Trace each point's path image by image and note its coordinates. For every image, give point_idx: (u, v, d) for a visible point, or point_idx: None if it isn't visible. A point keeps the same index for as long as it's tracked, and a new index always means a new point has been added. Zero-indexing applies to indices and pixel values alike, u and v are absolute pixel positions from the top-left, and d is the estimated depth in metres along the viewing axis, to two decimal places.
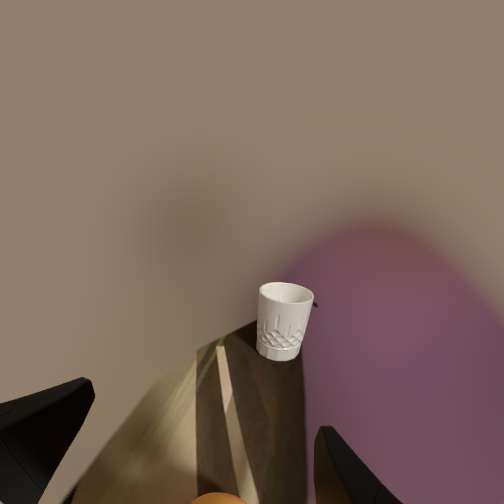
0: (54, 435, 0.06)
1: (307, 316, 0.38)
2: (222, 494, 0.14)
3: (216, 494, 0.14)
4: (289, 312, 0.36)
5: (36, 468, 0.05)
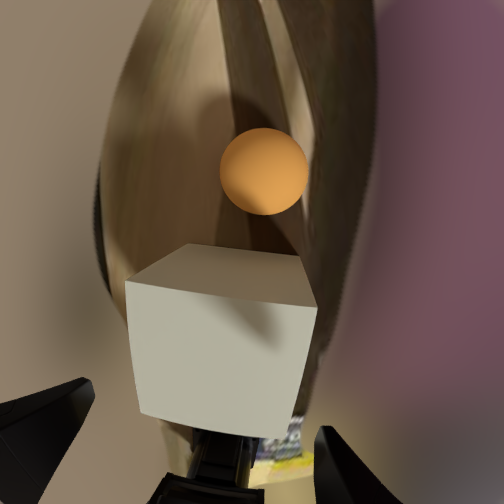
0: (54, 435, 0.06)
1: None
2: (263, 135, 0.13)
3: (255, 135, 0.13)
4: None
5: (36, 468, 0.05)
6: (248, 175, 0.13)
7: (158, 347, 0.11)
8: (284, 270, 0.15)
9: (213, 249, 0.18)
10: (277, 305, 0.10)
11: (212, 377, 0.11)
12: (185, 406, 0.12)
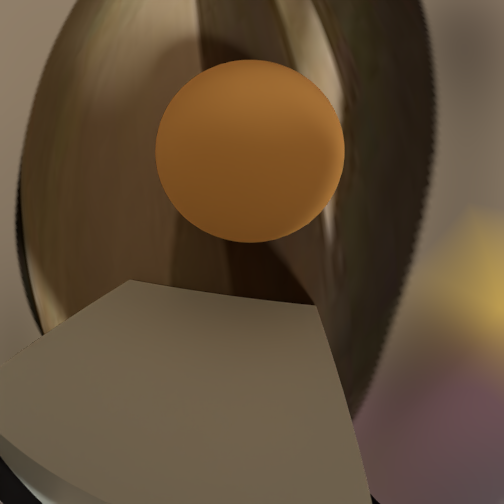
0: None
1: None
2: (245, 64, 0.05)
3: (227, 66, 0.05)
4: None
5: None
6: (202, 152, 0.05)
7: (51, 500, 0.03)
8: (291, 362, 0.06)
9: (164, 296, 0.10)
10: None
11: None
12: None
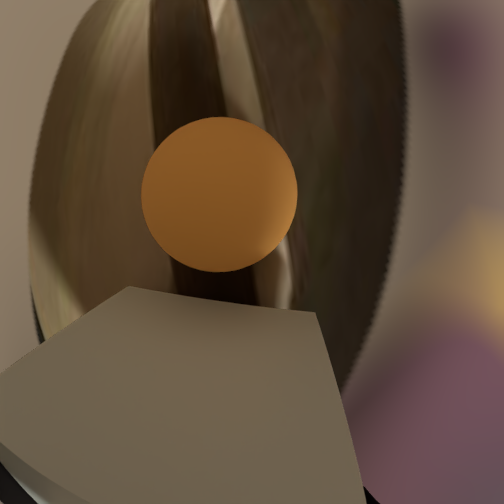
0: None
1: None
2: None
3: None
4: None
5: None
6: None
7: None
8: (290, 371, 0.06)
9: (163, 303, 0.10)
10: None
11: None
12: None
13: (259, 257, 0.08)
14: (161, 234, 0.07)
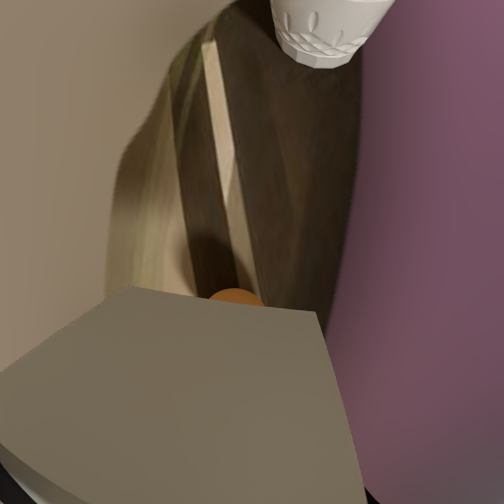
0: None
1: (383, 15, 0.10)
2: None
3: None
4: (342, 12, 0.09)
5: None
6: None
7: None
8: (290, 371, 0.06)
9: (162, 302, 0.10)
10: None
11: None
12: None
13: None
14: None
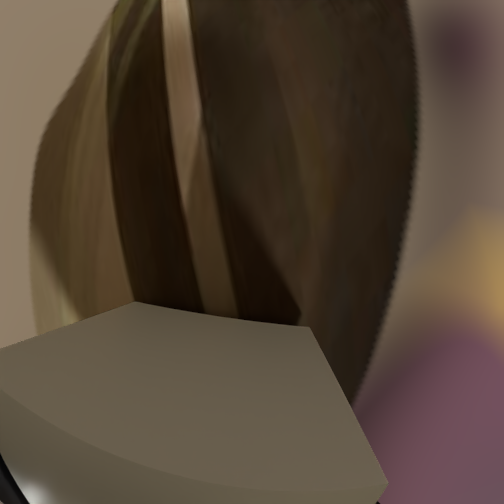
0: None
1: None
2: None
3: None
4: None
5: None
6: None
7: (40, 487, 0.03)
8: (288, 362, 0.07)
9: (168, 314, 0.10)
10: (278, 494, 0.02)
11: None
12: None
13: None
14: None
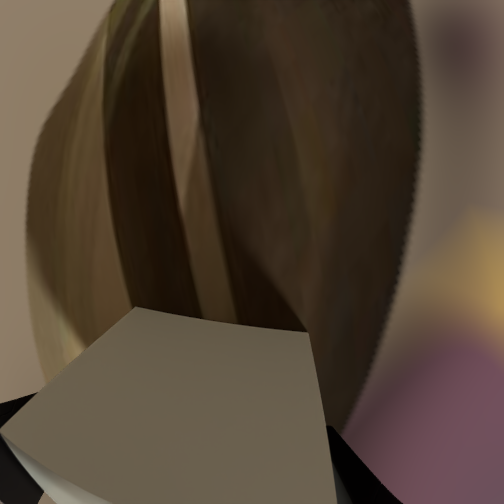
0: None
1: None
2: None
3: None
4: None
5: None
6: None
7: None
8: (282, 392, 0.07)
9: (168, 325, 0.10)
10: None
11: None
12: None
13: None
14: None
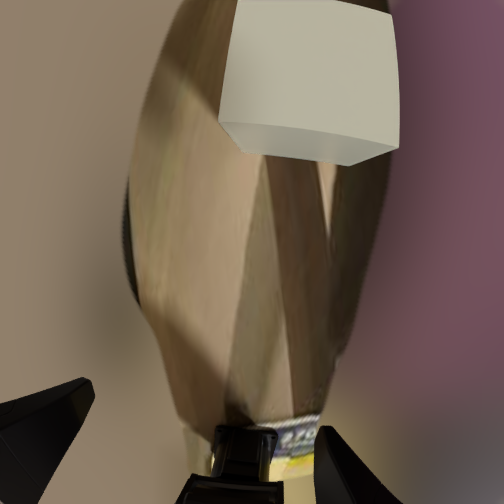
0: (54, 435, 0.06)
1: None
2: None
3: None
4: None
5: (36, 468, 0.05)
6: None
7: (264, 30, 0.09)
8: None
9: None
10: (364, 7, 0.08)
11: (318, 54, 0.09)
12: (285, 93, 0.10)
13: None
14: None
